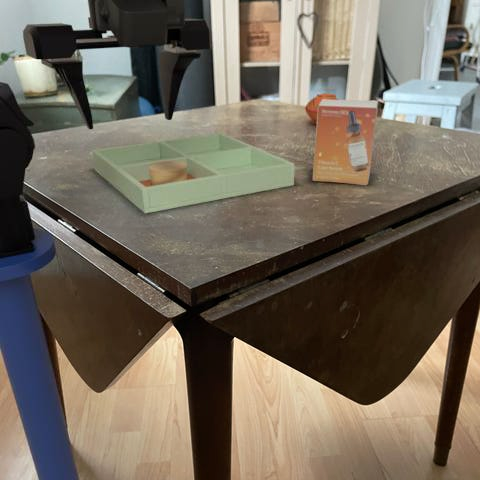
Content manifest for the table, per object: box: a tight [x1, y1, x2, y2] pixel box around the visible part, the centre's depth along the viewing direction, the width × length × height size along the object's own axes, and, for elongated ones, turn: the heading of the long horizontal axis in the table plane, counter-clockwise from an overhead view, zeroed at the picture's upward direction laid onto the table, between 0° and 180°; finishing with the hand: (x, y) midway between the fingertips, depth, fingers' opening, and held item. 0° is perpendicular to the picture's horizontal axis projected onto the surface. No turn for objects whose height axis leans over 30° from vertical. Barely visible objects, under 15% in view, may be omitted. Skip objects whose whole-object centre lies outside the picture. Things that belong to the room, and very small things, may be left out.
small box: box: [312, 99, 379, 186], centre depth 76 cm, size 8×6×10 cm
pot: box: [304, 93, 339, 125], centre depth 108 cm, size 8×8×7 cm
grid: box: [91, 132, 296, 214], centre depth 80 cm, size 22×22×3 cm
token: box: [149, 161, 188, 186], centre depth 73 cm, size 5×5×3 cm
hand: (130, 124), depth 61 cm, fingers open, 9 cm apart
